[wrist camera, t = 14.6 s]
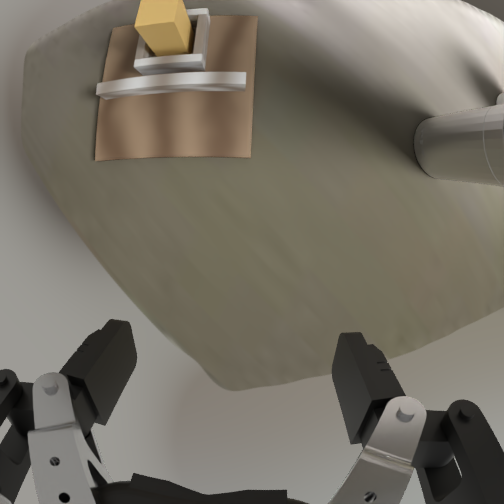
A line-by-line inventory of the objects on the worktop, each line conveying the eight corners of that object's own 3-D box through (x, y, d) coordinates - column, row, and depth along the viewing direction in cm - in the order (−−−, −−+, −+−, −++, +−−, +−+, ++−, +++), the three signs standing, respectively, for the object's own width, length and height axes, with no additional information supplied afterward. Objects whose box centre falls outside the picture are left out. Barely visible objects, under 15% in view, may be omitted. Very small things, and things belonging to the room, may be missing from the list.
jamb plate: (257, 19, 28) (259, 3, 24) (250, 158, 33) (251, 155, 29) (115, 30, 27) (103, 18, 23) (98, 161, 32) (81, 160, 28)
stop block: (194, 33, 27) (179, -8, 18) (190, 58, 29) (173, 21, 19) (164, 35, 27) (141, -2, 18) (160, 60, 28) (134, 26, 19)
